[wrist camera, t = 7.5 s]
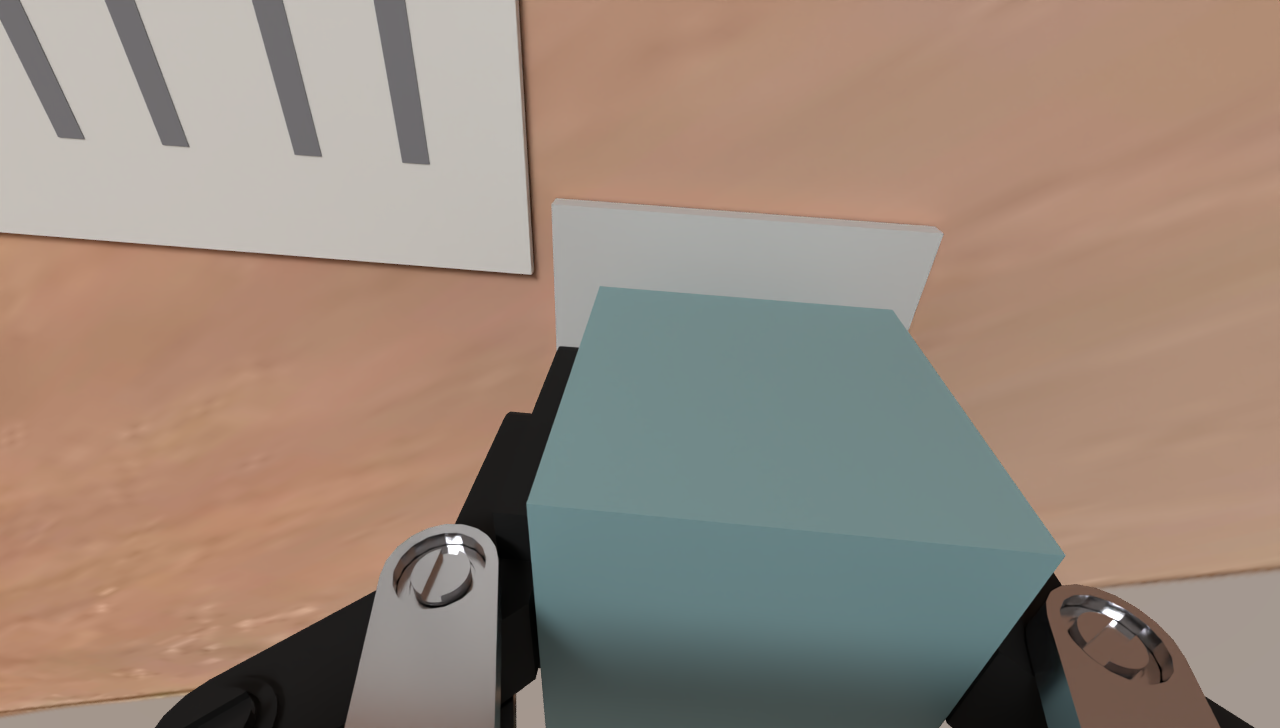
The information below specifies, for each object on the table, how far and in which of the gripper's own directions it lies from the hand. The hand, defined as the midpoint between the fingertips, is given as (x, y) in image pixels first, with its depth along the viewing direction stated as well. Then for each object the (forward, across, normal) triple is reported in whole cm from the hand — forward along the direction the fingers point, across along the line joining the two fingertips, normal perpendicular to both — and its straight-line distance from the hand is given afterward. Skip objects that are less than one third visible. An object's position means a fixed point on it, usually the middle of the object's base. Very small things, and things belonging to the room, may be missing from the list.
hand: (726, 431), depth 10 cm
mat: (+2, 0, 0) cm, 2 cm away
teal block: (+1, 0, 0) cm, 1 cm away
